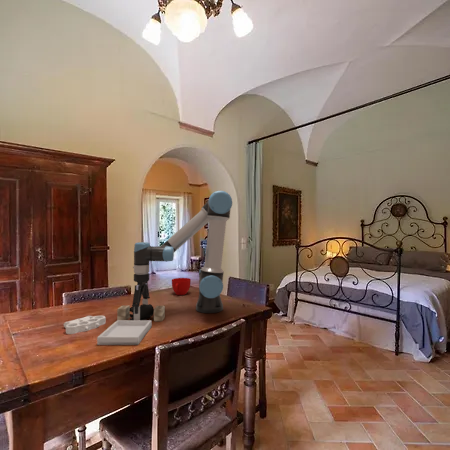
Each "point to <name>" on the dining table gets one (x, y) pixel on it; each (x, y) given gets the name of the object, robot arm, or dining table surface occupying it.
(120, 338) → the tray
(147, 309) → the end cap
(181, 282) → the ceramic cup
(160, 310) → the block
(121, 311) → the block
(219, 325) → the dining table surface
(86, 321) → the muffin pan
